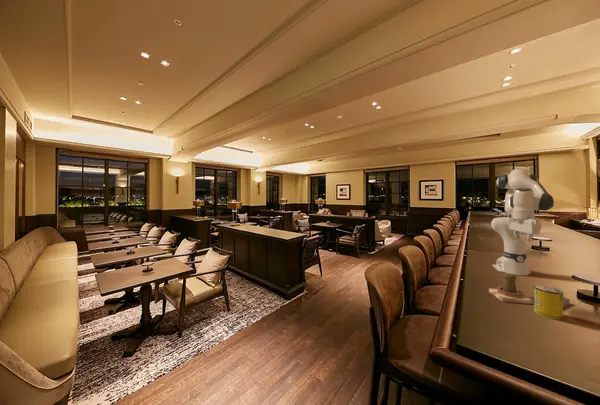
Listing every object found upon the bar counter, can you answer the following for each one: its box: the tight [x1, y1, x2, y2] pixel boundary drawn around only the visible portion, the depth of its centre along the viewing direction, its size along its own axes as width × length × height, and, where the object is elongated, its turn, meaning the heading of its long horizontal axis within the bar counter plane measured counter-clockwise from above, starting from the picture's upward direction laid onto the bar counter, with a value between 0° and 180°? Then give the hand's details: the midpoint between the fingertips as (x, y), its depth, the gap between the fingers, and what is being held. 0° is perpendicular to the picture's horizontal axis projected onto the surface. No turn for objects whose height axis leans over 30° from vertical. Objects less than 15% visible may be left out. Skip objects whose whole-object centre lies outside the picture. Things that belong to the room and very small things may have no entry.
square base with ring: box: [488, 286, 534, 305], centre depth 122 cm, size 13×13×4 cm
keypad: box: [529, 295, 571, 308], centre depth 116 cm, size 10×4×15 cm
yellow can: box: [533, 284, 564, 321], centre depth 105 cm, size 9×9×12 cm
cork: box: [502, 272, 517, 293], centre depth 122 cm, size 6×6×11 cm
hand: (523, 239), depth 132 cm, fingers open, 8 cm apart
